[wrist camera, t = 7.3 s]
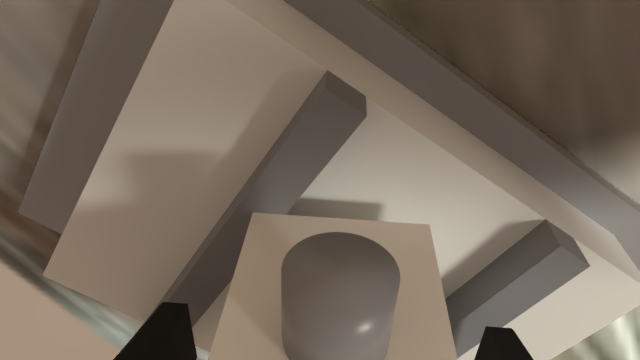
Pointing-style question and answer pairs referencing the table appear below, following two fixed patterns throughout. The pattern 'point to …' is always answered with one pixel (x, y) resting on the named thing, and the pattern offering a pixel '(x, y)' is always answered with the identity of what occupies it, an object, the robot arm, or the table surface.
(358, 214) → the stepped base plate
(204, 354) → the table surface
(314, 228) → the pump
